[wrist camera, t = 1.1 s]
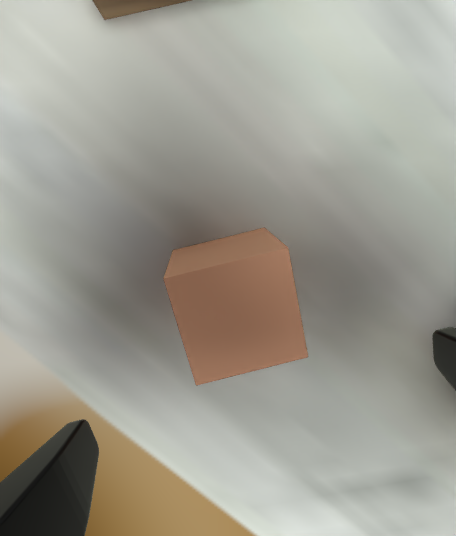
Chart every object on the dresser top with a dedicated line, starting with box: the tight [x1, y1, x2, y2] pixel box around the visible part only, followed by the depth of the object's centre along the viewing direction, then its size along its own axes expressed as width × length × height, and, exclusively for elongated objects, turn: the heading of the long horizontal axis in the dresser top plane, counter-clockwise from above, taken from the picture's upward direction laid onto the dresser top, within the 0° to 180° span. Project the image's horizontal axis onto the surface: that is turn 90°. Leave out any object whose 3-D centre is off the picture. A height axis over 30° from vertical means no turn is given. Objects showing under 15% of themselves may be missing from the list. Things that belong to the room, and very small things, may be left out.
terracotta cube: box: [163, 228, 308, 385], centre depth 14 cm, size 4×4×4 cm
